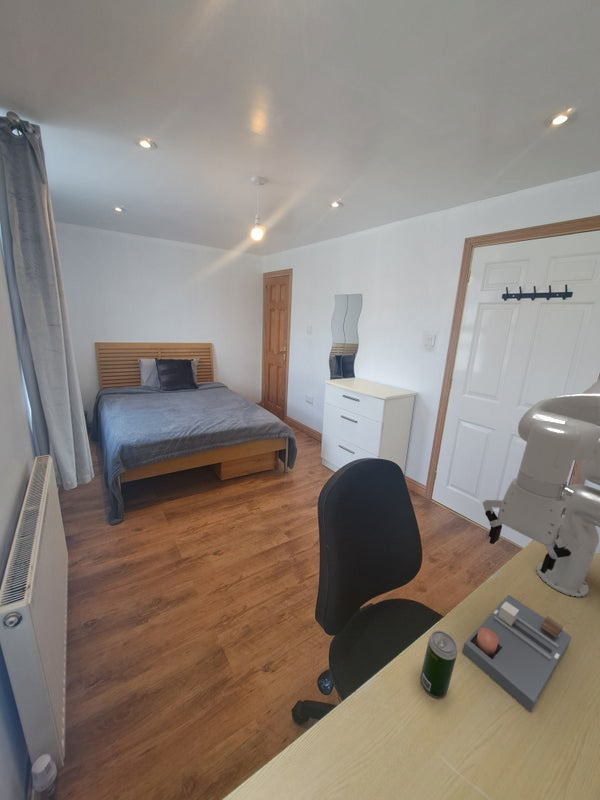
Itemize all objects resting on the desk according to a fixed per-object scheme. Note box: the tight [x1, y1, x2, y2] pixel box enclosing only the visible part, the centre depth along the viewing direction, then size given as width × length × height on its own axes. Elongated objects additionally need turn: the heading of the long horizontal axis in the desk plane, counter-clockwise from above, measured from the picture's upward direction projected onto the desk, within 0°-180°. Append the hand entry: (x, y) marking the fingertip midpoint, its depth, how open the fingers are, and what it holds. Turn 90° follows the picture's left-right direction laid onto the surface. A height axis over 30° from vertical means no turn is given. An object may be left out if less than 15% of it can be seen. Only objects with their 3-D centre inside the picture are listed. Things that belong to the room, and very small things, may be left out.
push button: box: [475, 628, 499, 657], centre depth 74 cm, size 4×4×4 cm
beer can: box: [420, 630, 458, 699], centre depth 66 cm, size 5×5×12 cm
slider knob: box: [498, 602, 519, 626], centre depth 80 cm, size 3×3×3 cm
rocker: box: [541, 616, 564, 637], centre depth 78 cm, size 5×3×1 cm, turn 127°
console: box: [461, 594, 573, 713], centre depth 76 cm, size 24×14×4 cm, turn 126°
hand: (517, 554), depth 68 cm, fingers open, 9 cm apart
